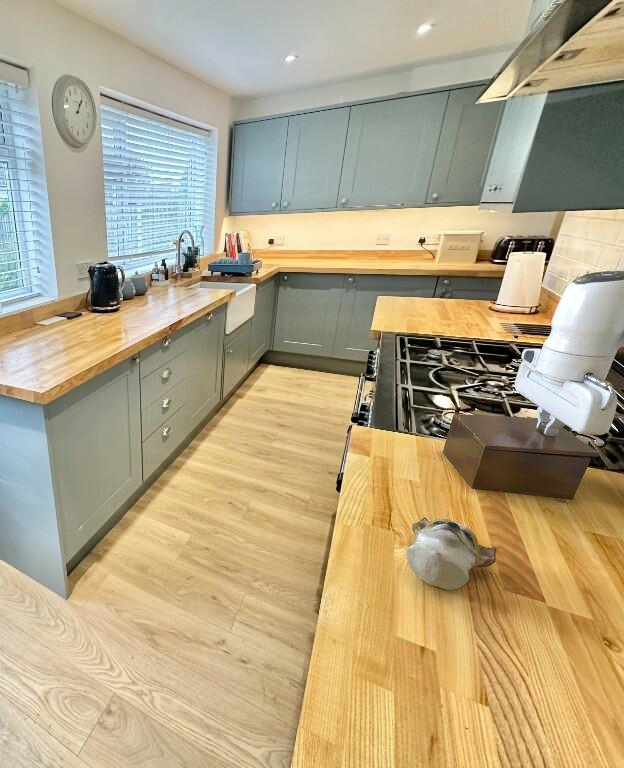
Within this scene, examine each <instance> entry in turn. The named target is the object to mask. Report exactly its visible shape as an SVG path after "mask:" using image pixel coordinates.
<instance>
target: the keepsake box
mask: <svg viewBox="0 0 624 768" xmlns="http://www.w3.org/2000/svg"><path fill="white" fill-rule="evenodd" d="M442 453H443V455H444V456H445V457H446V459H447V460H448V461H449V462H450V463H451V465H452V466H453V467H454V468H455V470H456V472H458V473H459V475H460V476H461V477H462V478H463V480H464V482H466V483H467V485H468V486H469V487H470V488H471V489H475V490H482V491H483V490H484V491H494V492H503V493H511V494H520V495H528V496H536V497H546V498H555V499H556V498H557V499H565V500H574V498H575V496H576V494H577V491H578V490H579V487H580V485H581V483H582V480H583V478H584V476H585V473H586V472H587V470H588V467H589V465H590V462H591V460H592V458H591V457H590V456H579V455H565V454H550V453H536V452H522V451H507V450H493V449H484V448H483V447H482V446H481V445H480V444H479V443H478V442H477V441H476V440H475V439H474V438H473V437H472V436H471V435H470V434H469V433H468V432H467V431H466V430H465V429H464V428H463V427H462V426H461V425H460V424H459V423H458V422H457V421H456V420H455V419H454V418H453V417H451V421H450V425H449V428H448V433H447V435H446V439H445V443H444V446H443V450H442Z"/></svg>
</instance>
